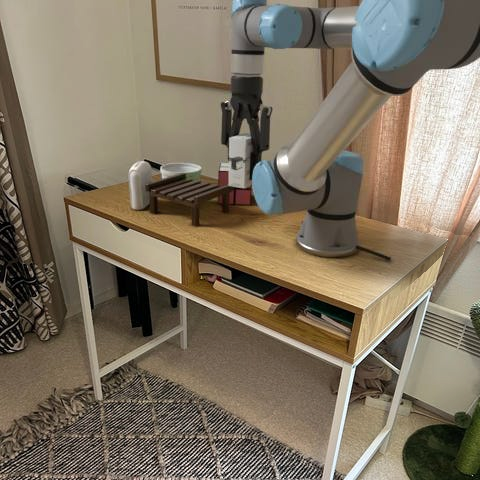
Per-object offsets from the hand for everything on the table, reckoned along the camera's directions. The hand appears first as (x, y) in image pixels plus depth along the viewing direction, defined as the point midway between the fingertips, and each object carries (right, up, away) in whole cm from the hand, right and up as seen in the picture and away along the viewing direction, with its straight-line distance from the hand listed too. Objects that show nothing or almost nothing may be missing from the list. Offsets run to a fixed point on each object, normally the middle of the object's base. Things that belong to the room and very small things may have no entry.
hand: (243, 176), depth 123 cm
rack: (-15, -6, +16) cm, 23 cm away
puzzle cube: (-3, +1, +27) cm, 27 cm away
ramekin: (-20, +6, +35) cm, 41 cm away
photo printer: (-30, -3, +20) cm, 36 cm away
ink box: (0, -2, +1) cm, 2 cm away
